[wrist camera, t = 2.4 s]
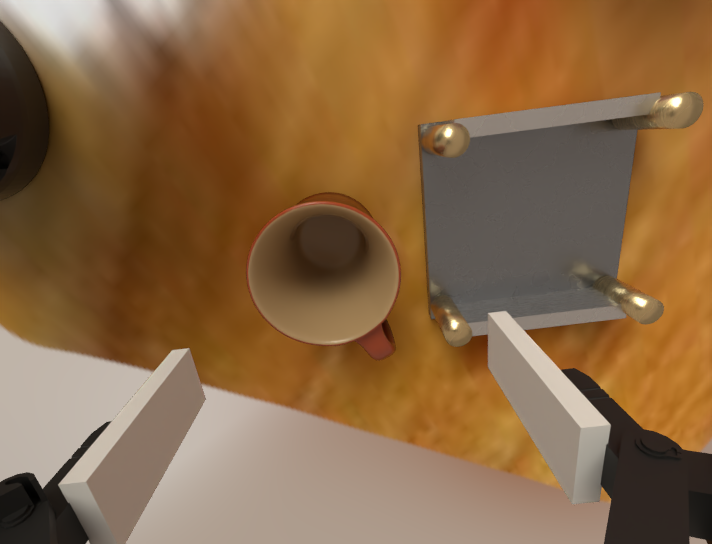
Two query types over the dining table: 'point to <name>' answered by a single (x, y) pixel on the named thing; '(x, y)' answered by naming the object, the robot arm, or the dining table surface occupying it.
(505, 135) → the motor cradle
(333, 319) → the mug
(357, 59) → the dining table surface
